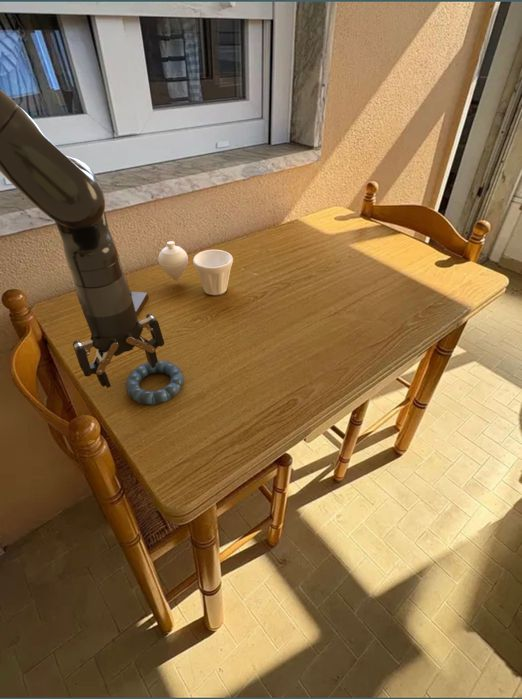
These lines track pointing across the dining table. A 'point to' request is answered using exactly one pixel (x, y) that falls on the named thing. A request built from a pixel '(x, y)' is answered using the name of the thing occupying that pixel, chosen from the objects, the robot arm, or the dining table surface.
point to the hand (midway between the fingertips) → (130, 374)
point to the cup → (213, 270)
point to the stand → (139, 300)
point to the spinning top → (173, 261)
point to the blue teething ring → (158, 395)
